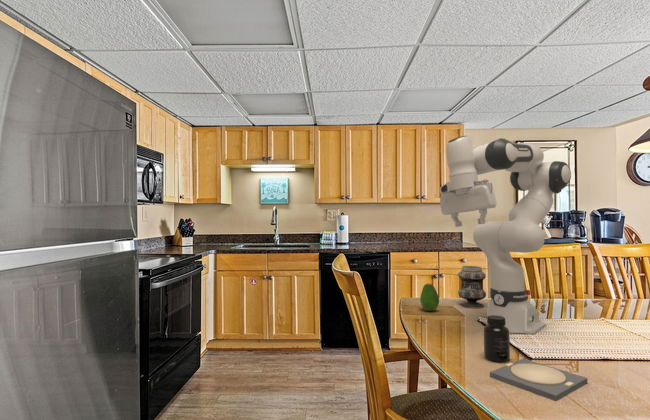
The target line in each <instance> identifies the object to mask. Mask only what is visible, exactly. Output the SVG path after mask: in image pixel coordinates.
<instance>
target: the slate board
mask: <svg viewBox="0 0 650 420" xmlns="http://www.w3.org/2000/svg"><path fill="white" fill-rule="evenodd" d="M489 377H490V378H493V379H495V380H498V381H500V382H503V383H506V384H508V385H512V386H515V387H517V388H520V389H522V390H525V391H528V392H531V393H533V394H536V395H539V396H541V397H544V398H547V399H550V400H552V401H555V402H557V401H558V400H560V399H562V398H564V397H566V396H567V395H569V394H571V393H572V392H575V391H576V390H578V389H579V388H581V387H583V386H584V385H586V384H588V377H586V376H582V375H578V374H575V373H572V372H568V371H567V370H565V371H564V370H563V369H559V368H555V367H554V366H553V367H552V366H549V365H546V364H545V365H544V364H542V363H538V362H535V361H532V360H529V359H526V358H521V359H519V360H515V361H514V362H509V363H508V362H507V363H506V364H504V365H503V366H501V367H498V368H496V369H492V370H491V371H489Z"/></svg>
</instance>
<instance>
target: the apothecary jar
mask: <svg viewBox="0 0 650 420" xmlns="http://www.w3.org/2000/svg"><path fill="white" fill-rule="evenodd" d="M457 276H458V277H459V278H460V288H459V289H458V290H457V294H458V296H459V298H461V299H463V300H466V301H464V302H463V303H461V304H460V306H461V307H463V308H468V309H481V308H484V307H485V306H484V304H482V303H480V302H479V301H482V300H484V299H485V298H486V296H487V292H486V291H485V290H484V280H485V278H486V273H485V272H483V269H482V267H481V266H478V265H477V266H476V265H462V266H461V270H460V271H459V272H458V274H457Z"/></svg>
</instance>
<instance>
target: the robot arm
mask: <svg viewBox="0 0 650 420" xmlns="http://www.w3.org/2000/svg"><path fill="white" fill-rule="evenodd" d="M445 148H446V149H445V154H446V163H447V167H448V170H449V175H448V177H449V178H448V179H449V180H448V181H447V182H446V183H445V184H443V185H442V186H440V187H439V188H438V192H439V194H440V196H439V197H440V198H439V203H440V210H441V213H442V215H445V216H448V215H450V217H451V220H452V221H453V222H454V226H455V227H456V228H459V227H463V223H462V220H460V219H459V214H461V213H468V212H475V211H478V213H479V214H480V215H479V218H477V224H476V227H475V228H474V231H473V241H474V243H475V245H476V246H477V247H478V248H479V249H480V250H481V251H482V252H483V254H484V255H485V257H486V259H487V261H488V264H489V269H490V279H491V280H490V281H491V283H490V284H491V288H490V289H489V294H490V295H489V296H490V300H489V301H488V303H487V312H486V313H487V315H486V319H484V323H485V324H486V325H488V323H487V317H488V316H490V315H497V316H502V317H504V318H505V322H506V325H505V327H507V328H508V330H509V334H511V333H512V334H528V335H529V334H530V335H534V334H536V333H538V332H539V331H541V330H542V329H544V328H545V327H546V326H547V324H546V322H543V321H542V320H539V312H538V309H537V307H536V306H534V305H533V304H532V303H531V301H529V298H528V296H531V293H532V291H531V289H526V288H525V270H524V268H523V266H522V265H521V264H520V263H518V262H516V261H515V260H514V259H513V257H512V256H511V253H519V254H520V253H523V254H524V253H525V254H526V253H534V252H538V251H540V250H541V249H542V247H543V246H544V244H545V239H546V236H545V233H544V230H543V229H542V227H541V226H540V224H541V223H542V222H543V220H545V218H546V217H547V215H548V214H549V212H550V211H551V209H552V208H553V204H554V197H553V195H554V194H559V193H561V192H562V190H563V189H564V188H566V187H567V185H568V184H569V183H570V181H571V179H572V172H571V168H570V166H569V164H568V163H566V162H564V161H559V160H555V161H545V162H544V161H543V160H544V157H545V155H544V151H543V150H542V148H541V147H540V146H539V145H536V144H532V143H526V142H524V143H523V142H518V143H513V142H512V141H510V140H508V139H506V138H499V139H498V138H497V139H495V140H493V141H491V142H488V143H485V144H481V145H475V144H474V143H473V142H472V139H471V137H470V136H469V135H462V136H459V137H454V138H452V139H450V140H448V141H447V143H446V147H445ZM501 170H505V171H507V172H510V174H509V175H510V176H509V181H510V184H511V186H512V187H513V189H514V190H517V191H520V192H521V191H522V192H526V191H528V192H527V193H526V194H525V195H524V196H523V197H522V198H520V199H519V200H518V202H516V204H515V205H514V206H513V207H512V208H511V209H510V210H509V211H508V212H509V213H508V221H488V222H487V221H486V217H487V214H488V209H494V208H496V206H497V199H496V195H495V192H494V189H493V183H492V182H491V180H488V179H482V180H479V178H478V177H479V176H481V175H483V174H487V173H488V174H489V173H491V172H493V173H494V172H496V171H501Z"/></svg>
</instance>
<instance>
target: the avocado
mask: <svg viewBox="0 0 650 420" xmlns="http://www.w3.org/2000/svg"><path fill="white" fill-rule="evenodd" d="M439 298H440V296H439V293H438V292H437V289H436V288H435V286H434V285H433V284H432V283H425V284H424V285H423V286H422V289H421V293H420V304H421V307H422V308H423V310H425V311H428V312H431V311H432V312H433V311H434V310H436V309H437V308H438V307H439V303H440V299H439Z"/></svg>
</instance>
